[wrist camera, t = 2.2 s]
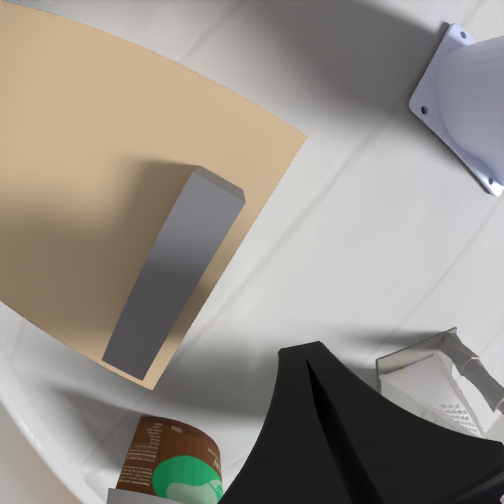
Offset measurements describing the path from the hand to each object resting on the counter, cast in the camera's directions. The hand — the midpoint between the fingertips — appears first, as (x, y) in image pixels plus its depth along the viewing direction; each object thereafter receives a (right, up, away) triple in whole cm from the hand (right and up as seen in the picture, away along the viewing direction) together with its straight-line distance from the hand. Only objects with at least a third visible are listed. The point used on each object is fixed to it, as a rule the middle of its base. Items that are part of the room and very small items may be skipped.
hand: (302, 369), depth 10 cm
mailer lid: (-10, +7, +1) cm, 12 cm away
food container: (-6, -13, +14) cm, 20 cm away
